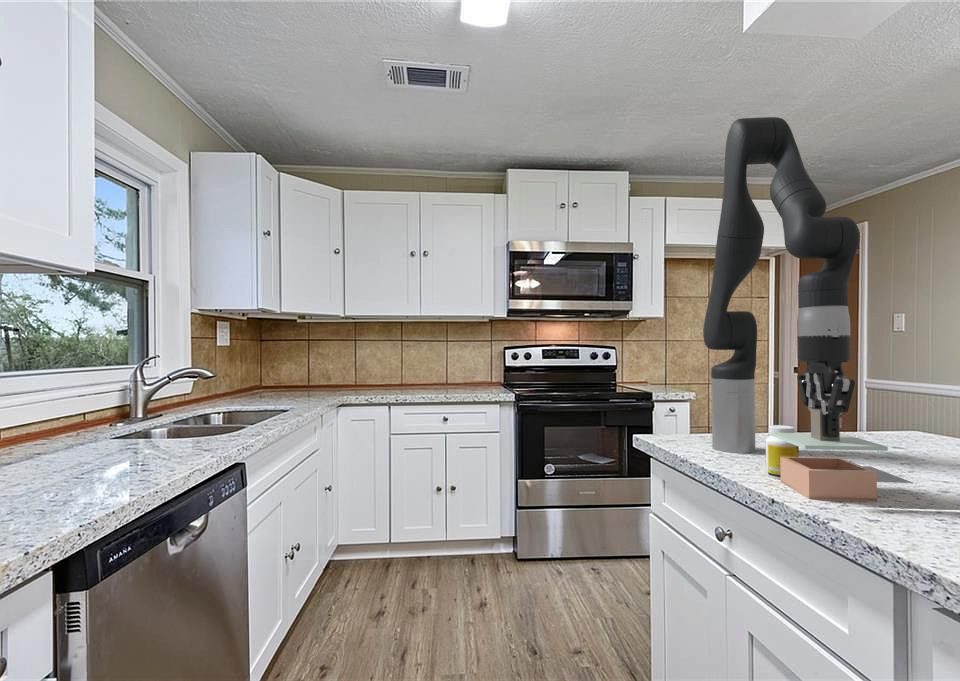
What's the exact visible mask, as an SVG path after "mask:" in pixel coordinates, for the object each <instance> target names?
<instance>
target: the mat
mask: <svg viewBox="0 0 960 681" xmlns="http://www.w3.org/2000/svg"><path fill="white" fill-rule="evenodd" d="M863 467H865V468H868V469H871V470H873V471H876V472H877V483H903V484H904V483H906V484H907V483H909V484H910V483H911V484H913V483H914V482H913V481H910V480H908V479H905V478H902V477H899V476H897V475H894V474H891V473H890V472H886V471H884V470H882V469H878V468H876V467H873V466H870V465H869V466H867V465H866V466H865V465H863Z"/></svg>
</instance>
